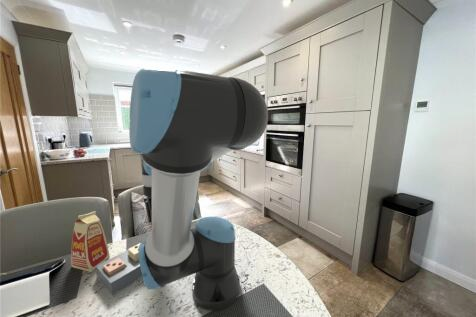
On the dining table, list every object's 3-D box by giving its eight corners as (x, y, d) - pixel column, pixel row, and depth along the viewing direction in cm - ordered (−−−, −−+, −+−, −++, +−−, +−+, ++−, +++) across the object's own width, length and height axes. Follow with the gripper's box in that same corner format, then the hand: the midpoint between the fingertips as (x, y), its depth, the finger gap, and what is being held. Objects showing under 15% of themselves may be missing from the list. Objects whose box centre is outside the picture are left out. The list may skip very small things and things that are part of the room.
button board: (175, 255, 78) (174, 245, 77) (112, 295, 60) (110, 283, 59) (158, 244, 85) (157, 235, 84) (97, 277, 66) (95, 266, 66)
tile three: (126, 271, 66) (125, 262, 65) (110, 280, 62) (109, 271, 61) (119, 265, 69) (118, 257, 68) (104, 273, 65) (103, 265, 64)
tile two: (148, 254, 72) (147, 246, 71) (135, 262, 68) (134, 253, 68) (141, 249, 75) (140, 242, 74) (128, 256, 71) (127, 248, 70)
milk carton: (91, 271, 69) (83, 219, 66) (70, 267, 71) (61, 217, 67) (112, 255, 78) (106, 208, 74) (93, 251, 80) (86, 206, 76)
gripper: (172, 184, 72) (176, 241, 77) (153, 178, 80) (157, 230, 84) (154, 190, 66) (158, 251, 71) (135, 183, 74) (140, 239, 78)
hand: (157, 240), depth 78 cm, fingers closed
